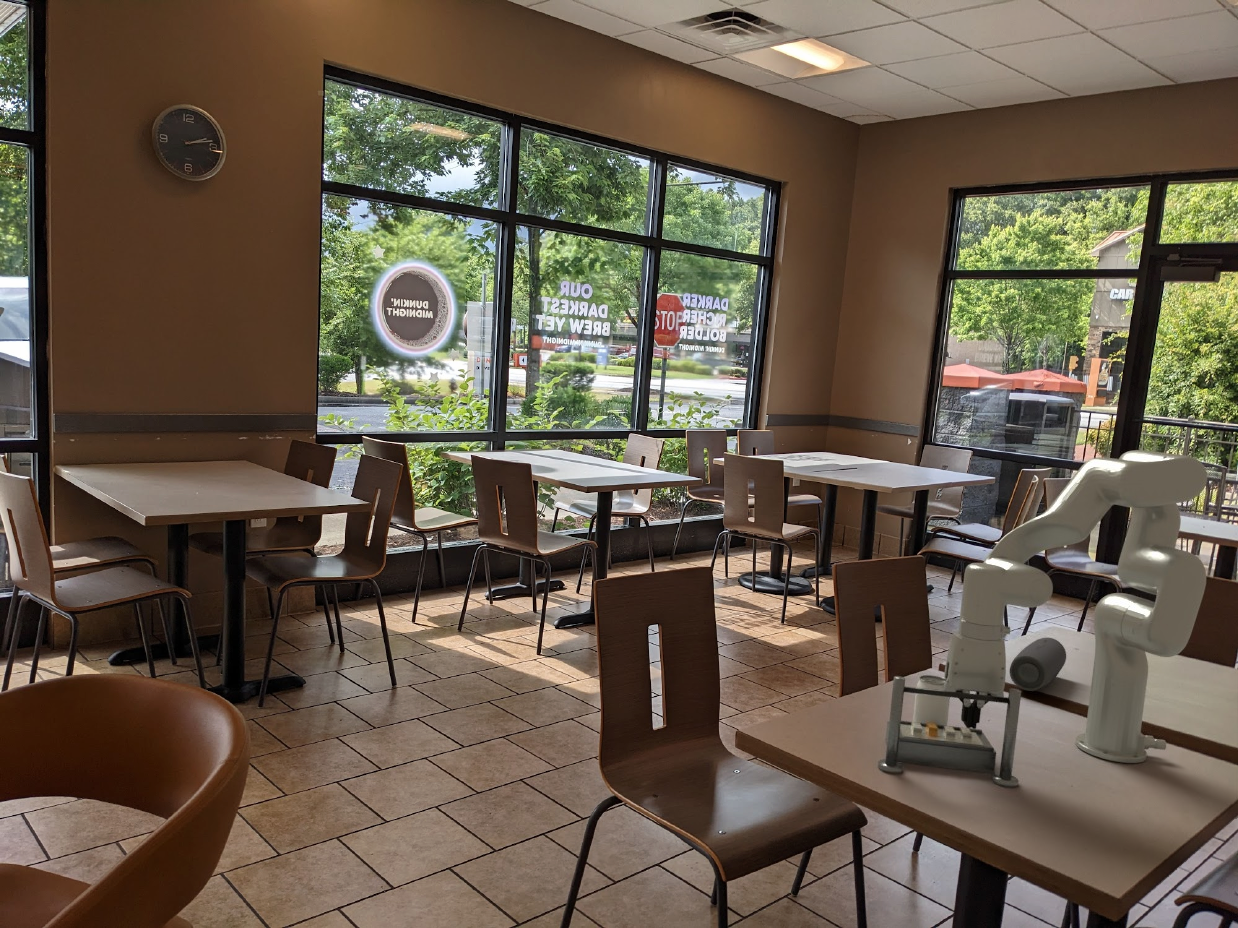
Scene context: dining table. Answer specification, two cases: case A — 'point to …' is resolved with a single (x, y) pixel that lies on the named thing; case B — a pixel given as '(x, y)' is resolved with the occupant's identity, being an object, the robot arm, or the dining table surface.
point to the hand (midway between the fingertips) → (969, 725)
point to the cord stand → (899, 688)
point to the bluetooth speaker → (1038, 664)
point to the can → (931, 702)
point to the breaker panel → (944, 747)
